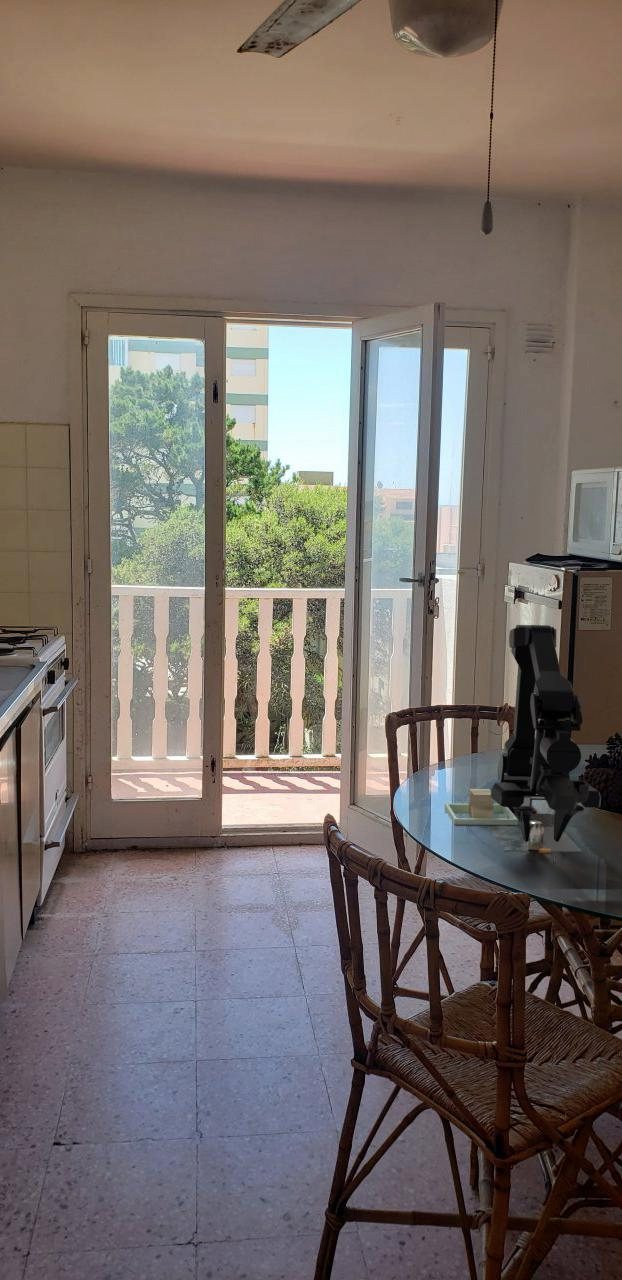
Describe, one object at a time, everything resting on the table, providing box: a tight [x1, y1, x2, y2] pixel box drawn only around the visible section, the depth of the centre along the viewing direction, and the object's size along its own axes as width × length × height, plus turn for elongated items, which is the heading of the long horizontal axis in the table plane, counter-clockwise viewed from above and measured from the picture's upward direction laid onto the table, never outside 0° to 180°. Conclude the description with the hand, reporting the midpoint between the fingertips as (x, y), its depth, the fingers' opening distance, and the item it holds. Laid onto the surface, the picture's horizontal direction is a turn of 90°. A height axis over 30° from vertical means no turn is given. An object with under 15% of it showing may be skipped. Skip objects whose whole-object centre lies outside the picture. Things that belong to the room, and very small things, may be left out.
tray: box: [444, 803, 519, 826], centre depth 196 cm, size 10×12×2 cm
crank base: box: [487, 826, 583, 854], centre depth 183 cm, size 15×14×2 cm
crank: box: [527, 820, 545, 850], centre depth 180 cm, size 10×4×5 cm, turn 168°
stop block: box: [468, 788, 495, 818], centre depth 196 cm, size 4×4×6 cm
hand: (541, 841), depth 177 cm, fingers open, 5 cm apart
